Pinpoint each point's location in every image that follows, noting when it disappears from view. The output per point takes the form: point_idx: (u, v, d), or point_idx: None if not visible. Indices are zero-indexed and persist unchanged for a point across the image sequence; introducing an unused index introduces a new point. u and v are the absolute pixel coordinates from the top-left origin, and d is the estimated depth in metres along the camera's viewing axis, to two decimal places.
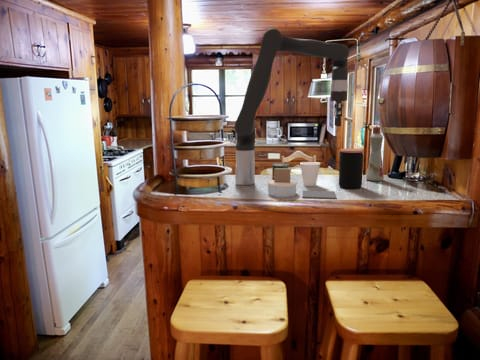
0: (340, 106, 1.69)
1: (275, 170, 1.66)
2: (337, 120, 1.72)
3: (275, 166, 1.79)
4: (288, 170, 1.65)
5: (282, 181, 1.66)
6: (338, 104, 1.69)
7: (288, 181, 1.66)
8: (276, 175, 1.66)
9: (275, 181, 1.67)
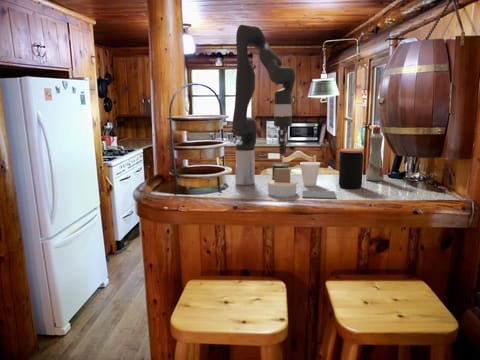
0: (282, 133, 1.57)
1: (275, 170, 1.66)
2: (280, 147, 1.59)
3: (275, 166, 1.79)
4: (288, 170, 1.65)
5: (282, 181, 1.66)
6: (280, 130, 1.57)
7: (288, 181, 1.66)
8: (276, 175, 1.66)
9: (275, 181, 1.67)
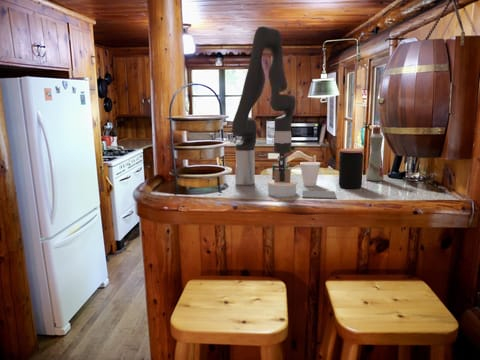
0: (282, 164, 1.60)
1: (275, 170, 1.66)
2: (280, 175, 1.65)
3: (275, 166, 1.79)
4: (288, 170, 1.65)
5: (282, 181, 1.66)
6: (280, 162, 1.60)
7: (288, 181, 1.66)
8: (276, 175, 1.66)
9: (275, 181, 1.67)
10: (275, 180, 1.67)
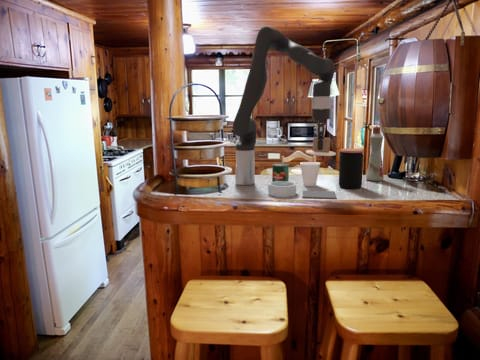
0: (321, 130, 1.53)
1: (314, 138, 1.59)
2: (319, 143, 1.58)
3: (275, 166, 1.79)
4: (328, 139, 1.58)
5: (321, 150, 1.60)
6: (319, 128, 1.53)
7: (327, 151, 1.59)
8: (315, 144, 1.60)
9: (313, 150, 1.60)
10: (313, 149, 1.60)
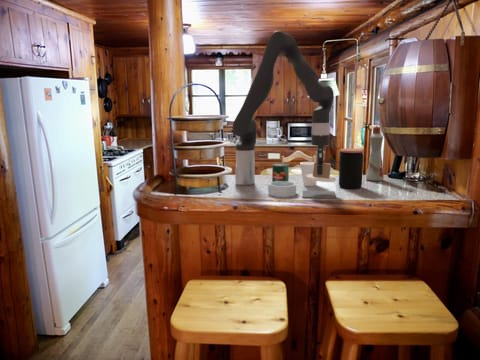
0: (321, 156, 1.56)
1: (315, 164, 1.61)
2: (318, 168, 1.60)
3: (275, 166, 1.79)
4: (329, 165, 1.60)
5: (321, 176, 1.62)
6: (319, 154, 1.55)
7: (327, 176, 1.61)
8: (316, 169, 1.62)
9: (314, 175, 1.62)
10: (314, 174, 1.62)
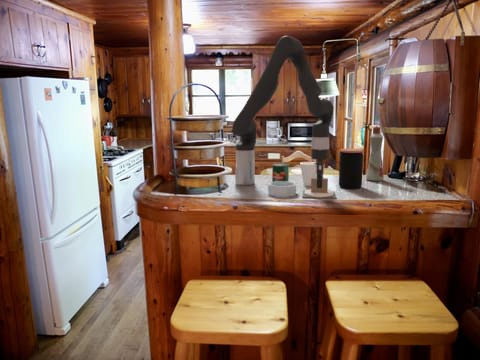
0: (321, 168, 1.56)
1: (312, 180, 1.63)
2: (318, 182, 1.59)
3: (275, 166, 1.79)
4: (325, 180, 1.62)
5: (319, 191, 1.63)
6: (318, 166, 1.56)
7: (325, 191, 1.63)
8: (313, 185, 1.63)
9: (312, 191, 1.64)
10: (312, 190, 1.64)
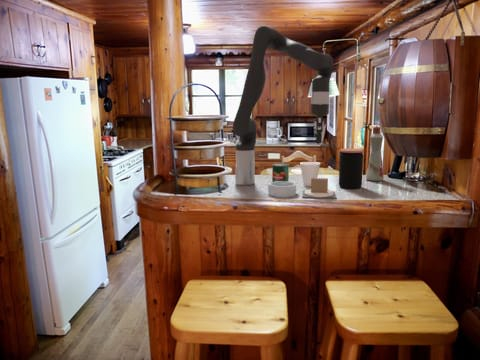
0: (320, 121, 1.53)
1: (312, 180, 1.63)
2: (317, 136, 1.56)
3: (275, 166, 1.79)
4: (325, 180, 1.62)
5: (319, 191, 1.63)
6: (318, 119, 1.53)
7: (325, 191, 1.63)
8: (313, 185, 1.63)
9: (312, 191, 1.64)
10: (312, 190, 1.64)
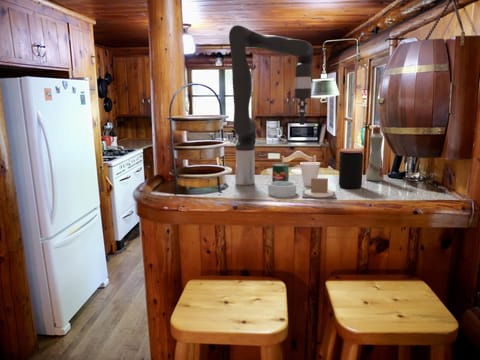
0: (303, 104, 1.65)
1: (312, 180, 1.63)
2: (300, 118, 1.67)
3: (275, 166, 1.79)
4: (325, 180, 1.62)
5: (319, 191, 1.63)
6: (301, 102, 1.65)
7: (325, 191, 1.63)
8: (313, 185, 1.63)
9: (312, 191, 1.64)
10: (312, 190, 1.64)
